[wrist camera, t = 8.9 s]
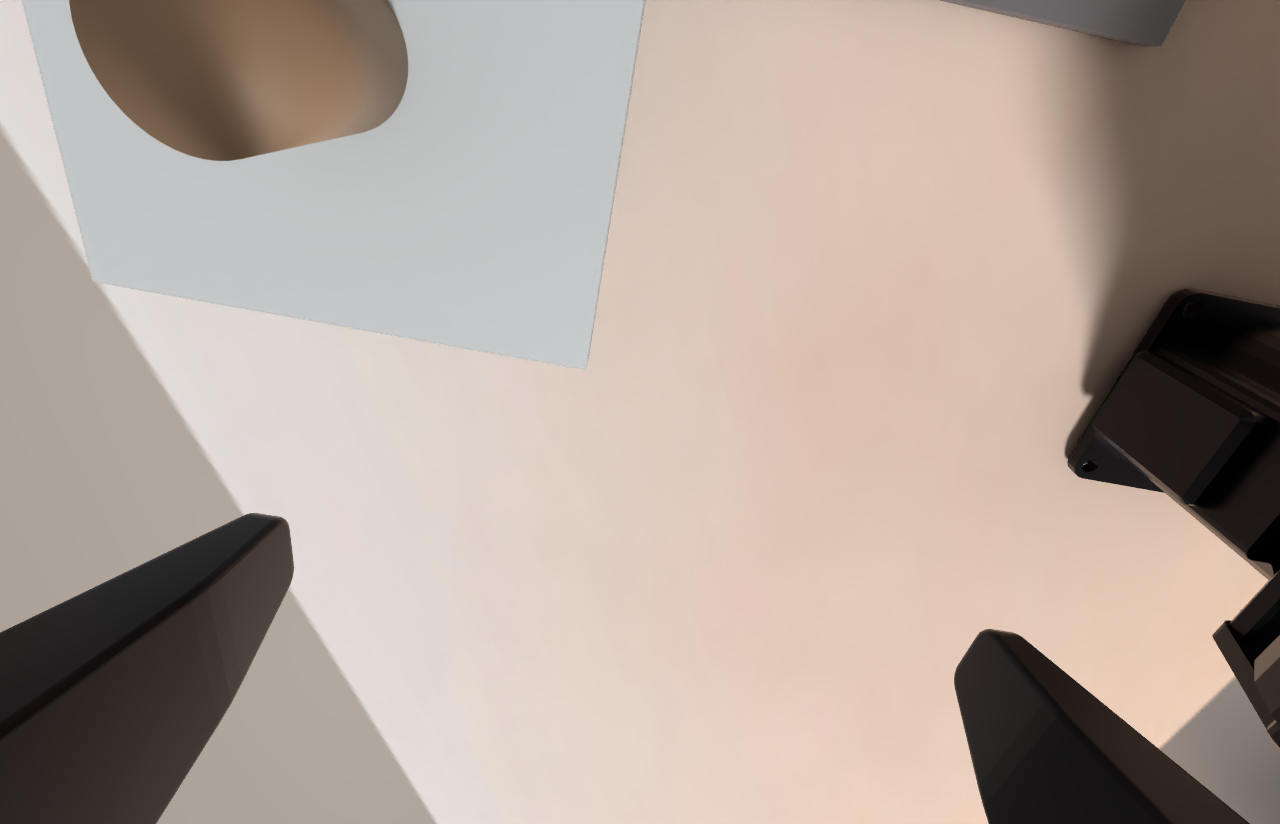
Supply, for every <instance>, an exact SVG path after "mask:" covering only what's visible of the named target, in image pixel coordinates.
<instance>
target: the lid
mask: <svg viewBox="0 0 1280 824" xmlns="http://www.w3.org/2000/svg"><path fill="white" fill-rule="evenodd" d="M22 3H23V7H24V11H25V15H26V19H27V23H28V27H29V31H30V35H31V39H32V43H33V46H34V50H35V54H36V58H37V62H38V66H39V70H40V74H41V78H42V82H43V86H44V90H45V94H46V98H47V102H48V106H49V110H50V114H51V118H52V122H53V126H54V130H55V133H56V137H57V141H58V145H59V149H60V153H61V157H62V161H63V165H64V169H65V173H66V177H67V181H68V185H69V189H70V193H71V197H72V201H73V205H74V209H75V213H76V217H77V220H78V224H79V228H80V232H81V236H82V240H83V244H84V248H85V252H86V256H87V260H88V264H89V268H90V272H91V276H92V280H93V282H97V283H103V284H108V285H114V286H119V287H125V288H131V289H136V290H142V291H147V292H153V293H158V294H164V295H170V296H175V297H181V298H186V299H192V300H197V301H203V302H209V303H214V304H220V305H225V306H231V307H236V308H242V309H247V310H253V311H259V312H264V313H270V314H275V315H281V316H286V317H292V318H298V319H303V320H309V321H314V322H320V323H325V324H331V325H337V326H342V327H348V328H353V329H359V330H364V331H370V332H376V333H381V334H387V335H392V336H398V337H403V338H409V339H415V340H420V341H426V342H431V343H437V344H442V345H448V346H454V347H459V348H465V349H470V350H476V351H481V352H487V353H493V354H498V355H504V356H509V357H515V358H520V359H526V360H532V361H537V362H543V363H548V364H554V365H559V366H565V367H571V368H576V369H582V370H586V366H587V362H588V358H589V353H590V347H591V340H592V334H593V328H594V321H595V315H596V309H597V303H598V296H599V290H600V284H601V277H602V271H603V265H604V258H605V252H606V246H607V240H608V233H609V227H610V221H611V214H612V208H613V202H614V195H615V189H616V183H617V177H618V170H619V164H620V158H621V151H622V145H623V139H624V133H625V126H626V120H627V114H628V107H629V101H630V95H631V88H632V82H633V76H634V70H635V63H636V57H637V51H638V44H639V38H640V32H641V25H642V19H643V13H644V7H645V0H22Z"/></svg>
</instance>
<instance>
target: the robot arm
mask: <svg viewBox="0 0 1280 824" xmlns="http://www.w3.org/2000/svg"><path fill="white" fill-rule="evenodd" d="M1191 302H1192V304H1191V307H1190V308H1189V309H1188V310H1187V311H1185V312H1183V310H1184V308H1185V307H1186V306H1187V305H1188V304H1189V303H1191ZM1089 460H1091V461H1090V462H1089V463H1088V464H1085V465H1083V464H1084V463H1085V462H1086V461H1089ZM1068 467H1069V468H1070V469H1071V470H1072V471H1073V472H1074V473H1075V474H1076V475H1077V476H1078V477H1081V478H1085V479H1090V480H1096V481H1102V482H1107V483H1113V484H1119V485H1124V486H1130V487H1135V488H1141V489H1147V490H1152V491H1158V492H1164V493H1166V494H1167V495H1168V496H1170V497H1171V498H1172V499H1173V500H1174V501H1176V502H1177V503H1178V504H1179V505H1180V506H1181V507H1183V508H1184V509H1185V510H1186V511H1187V512H1189V513H1190V514H1191V515H1192V516H1193V517H1195V518H1196V519H1197V520H1198V521H1199V522H1200V523H1202V524H1203V525H1204V526H1205V527H1206V528H1208V529H1209V530H1210V531H1211V532H1212V533H1214V534H1215V535H1216V536H1217V537H1218V538H1219V539H1221V540H1222V541H1223V542H1224V543H1225V544H1227V545H1228V546H1229V547H1230V548H1231V549H1233V550H1234V551H1235V552H1236V553H1237V554H1238V555H1240V556H1241V557H1242V558H1243V559H1244V560H1246V561H1247V562H1248V563H1249V564H1250V565H1252V566H1253V567H1254V568H1255V569H1256V570H1257V571H1259V572H1260V573H1261V574H1262V575H1263V576H1265V577H1266V578H1267V579H1268V580H1269V581H1268V582H1267V583H1266V584H1265V585H1264V586H1263V587H1262V589H1261V590H1260V591H1259V592H1258V593H1257V594H1256V595H1255V596H1254V597H1253V598H1252V599H1251V600H1250V602H1249V603H1248V604H1247V605H1246V606H1245V607H1244V608H1243V609H1242V610H1241V611H1240V612H1239V613H1238V614H1237V616H1236V617H1235V618H1234V619H1233V620H1232V621H1225V622H1224V623H1223V624H1222V625H1221V626H1220V628H1219V629H1218V630H1217V631H1216V632H1215V633H1214V634H1213V635H1212V636H1213V638H1214V640H1215V642H1216V644H1217V645H1218V647H1219V649H1220V650H1221V652H1222V654H1223V656H1224V657H1225V659H1226V661H1227V662H1228V664H1229V666H1230V668H1231V669H1232V671H1233V673H1234V674H1235V676H1236V678H1237V679H1238V681H1239V682H1240V685H1241V686H1242V688H1243V690H1244V691H1245V693H1246V695H1247V696H1248V698H1249V700H1250V702H1251V703H1252V705H1253V707H1254V709H1255V710H1256V712H1257V714H1258V715H1259V717H1260V719H1261V720H1262V722H1263V724H1264V725H1265V727H1266V729H1267V732H1268V734H1269V736H1270V738H1271V741H1272V743H1273V745H1274V746H1275V747H1276V749H1277V750H1278V751H1279V752H1280V306H1277V305H1272V304H1267V303H1262V302H1257V301H1252V300H1247V299H1242V298H1237V297H1232V296H1227V295H1222V294H1217V293H1212V292H1207V291H1202V290H1197V289H1184V290H1181V291H1178V292H1177V293H1175V294H1174V295H1172V296H1171V297H1170V298H1169V299H1168V301H1167V302H1166V303H1165V305H1164V307H1163V308H1162V310H1161V311H1160V313H1159V315H1158V316H1157V318H1156V319H1155V321H1154V323H1153V324H1152V326H1151V327H1150V329H1149V331H1148V332H1147V334H1146V335H1145V337H1144V338H1143V340H1142V342H1141V343H1140V345H1139V346H1138V348H1137V350H1136V351H1135V353H1134V354H1133V356H1132V358H1131V359H1130V361H1129V362H1128V364H1127V366H1126V367H1125V369H1124V370H1123V372H1122V374H1121V375H1120V377H1119V378H1118V380H1117V382H1116V383H1115V385H1114V386H1113V388H1112V390H1111V391H1110V393H1109V394H1108V396H1107V397H1106V399H1105V401H1104V402H1103V404H1102V405H1101V407H1100V409H1099V410H1098V412H1097V413H1096V415H1095V417H1094V418H1093V420H1092V421H1091V423H1090V425H1089V426H1088V428H1087V429H1086V431H1085V433H1084V434H1083V436H1082V437H1081V439H1080V441H1079V442H1078V444H1077V445H1076V447H1075V448H1074V450H1073V452H1072V453H1071V455H1070V456H1069V459H1068ZM293 572H294V562H293V554H292V546H291V537H290V529H289V525H288V523H287V521H286V520H285V519H284V518H282V517H278V516H271V515H265V514H259V513H250V514H246V515H244V516H241V517H239V518H237V519H235V520H233V521H231V522H229V523H227V524H225V525H223V526H221V527H219V528H217V529H214V530H212V531H210V532H208V533H206V534H204V535H202V536H200V537H198V538H196V539H194V540H192V541H190V542H187V543H185V544H183V545H181V546H179V547H177V548H175V549H173V550H171V551H169V552H167V553H165V554H163V555H160V556H158V557H156V558H155V559H152V560H150V561H148V562H146V563H144V564H142V565H140V566H138V567H136V568H134V569H132V570H129V571H127V572H125V573H123V574H121V575H119V576H117V577H115V578H113V579H111V580H109V581H107V582H104V583H102V584H100V585H98V586H96V587H94V588H92V589H90V590H88V591H86V592H84V593H82V594H80V595H78V596H75V597H73V598H71V599H69V600H67V601H65V602H63V603H61V604H59V605H57V606H55V607H53V608H51V609H49V610H46V611H44V612H42V613H40V614H38V615H36V616H34V617H32V618H30V619H28V620H26V621H24V622H21V623H19V624H17V625H15V626H13V627H11V628H9V629H7V630H5V631H3V632H1V633H0V824H156V823H157V821H158V820H159V818H160V817H161V815H162V814H163V812H164V810H165V809H166V807H167V806H168V804H169V802H170V801H171V799H172V798H173V796H174V795H175V793H176V791H177V790H178V788H179V787H180V785H181V783H182V782H183V780H184V779H185V777H186V775H187V774H188V772H189V771H190V769H191V767H192V766H193V764H194V763H195V761H196V760H197V758H198V756H199V755H200V753H201V752H202V750H203V748H204V747H205V745H206V743H207V742H208V740H209V739H210V737H211V736H212V734H213V732H214V731H215V729H216V728H217V726H218V725H219V723H220V721H221V720H222V718H223V716H224V714H225V713H226V711H227V709H228V708H229V706H230V704H231V703H232V701H233V699H234V697H235V695H236V693H237V691H238V689H239V688H240V685H241V684H242V682H243V680H244V677H245V676H246V674H247V672H248V670H249V668H250V666H251V664H252V661H253V659H254V657H255V655H256V653H257V651H258V649H259V647H260V645H261V643H262V641H263V639H264V637H265V635H266V633H267V631H268V629H269V627H270V625H271V623H272V621H273V619H274V617H275V615H276V612H277V611H278V609H279V607H280V605H281V603H282V601H283V598H284V597H285V594H286V592H287V590H288V588H289V586H290V584H291V581H292V577H293ZM954 685H955V691H956V695H957V699H958V703H959V708H960V712H961V716H962V720H963V724H964V729H965V733H966V737H967V741H968V746H969V750H970V754H971V758H972V763H973V767H974V771H975V775H976V780H977V784H978V788H979V792H980V795H981V799H982V803H983V807H984V810H985V813H986V816H987V819H988V823H989V824H1250V823H1248V822H1247V821H1246V820H1245V819H1243V818H1242V817H1241V816H1240V815H1239V814H1237V813H1236V812H1235V811H1234V810H1232V809H1231V808H1230V807H1229V806H1228V805H1226V804H1225V803H1224V802H1222V801H1221V800H1220V799H1219V798H1218V797H1217V796H1215V795H1214V794H1213V793H1212V792H1210V791H1209V790H1208V789H1207V788H1206V787H1204V786H1203V785H1202V784H1201V783H1199V782H1198V781H1197V780H1196V779H1195V778H1193V777H1192V776H1191V775H1190V774H1188V773H1187V772H1186V771H1185V770H1184V769H1182V768H1181V767H1180V766H1179V765H1178V764H1176V763H1175V762H1174V761H1173V760H1171V759H1170V758H1169V757H1168V756H1166V755H1165V754H1164V753H1163V752H1162V751H1160V750H1159V749H1158V748H1157V747H1156V746H1154V745H1153V744H1152V743H1151V742H1149V741H1148V740H1147V739H1146V738H1145V737H1143V736H1142V735H1141V734H1140V733H1138V732H1137V731H1136V730H1135V729H1134V728H1132V727H1131V726H1130V725H1129V724H1127V723H1126V722H1125V721H1124V720H1123V719H1121V718H1120V717H1119V716H1118V715H1116V714H1115V713H1114V712H1113V711H1112V710H1110V709H1109V708H1108V707H1107V706H1106V705H1104V704H1103V703H1102V702H1101V701H1099V700H1098V699H1097V698H1096V697H1095V696H1093V695H1092V694H1091V693H1090V692H1088V691H1087V690H1086V689H1085V688H1084V687H1082V686H1081V685H1080V684H1079V683H1077V682H1076V681H1075V680H1074V679H1073V678H1071V677H1070V676H1069V675H1068V674H1066V673H1065V672H1064V671H1063V670H1062V669H1060V668H1059V667H1058V666H1057V665H1055V664H1054V663H1053V662H1052V661H1051V660H1049V659H1048V658H1047V657H1046V656H1045V655H1043V654H1042V653H1041V652H1040V651H1038V650H1037V649H1036V648H1035V647H1034V646H1032V645H1031V644H1030V643H1029V642H1027V641H1026V640H1025V639H1024V638H1022V637H1021V636H1020V635H1018V634H1015V633H1012V632H1006V631H1000V630H993V629H985V630H983V631H982V632H980V633H979V634H978V635H977V637H976V638H975V640H974V641H973V643H972V644H971V646H970V648H969V649H968V651H967V652H966V654H965V655H964V657H963V658H962V660H961V661H960V663H959V664H958V666H957V668H956V671H955V677H954Z"/></svg>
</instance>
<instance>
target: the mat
mask: <svg viewBox="0 0 1280 824" xmlns="http://www.w3.org/2000/svg"><path fill="white" fill-rule="evenodd" d="M941 1H945V2H949V3H954V4H958V5H963V6H967V7H972V8H976V9H980V10H985V11H989V12H994V13H998V14H1003V15H1007V16H1011V17H1016V18H1020V19H1025V20H1029V21H1033V22H1038V23H1042V24H1047V25H1051V26H1056V27H1060V28H1064V29H1069V30H1073V31H1078V32H1082V33H1086V34H1091V35H1095V36H1100V37H1104V38H1108V39H1113V40H1117V41H1122V42H1126V43H1131V44H1135V45H1139V46H1144V47H1145V46H1162V44H1163V42H1164V40H1165V38H1166V36H1167V34H1168V32H1169V30H1170V28H1171V26H1172V24H1173V22H1174V21H1175V19H1176V17H1177V15H1178V13H1179V11H1180V9H1181V7H1182V5H1183V3H1184V1H1185V0H941Z"/></svg>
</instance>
